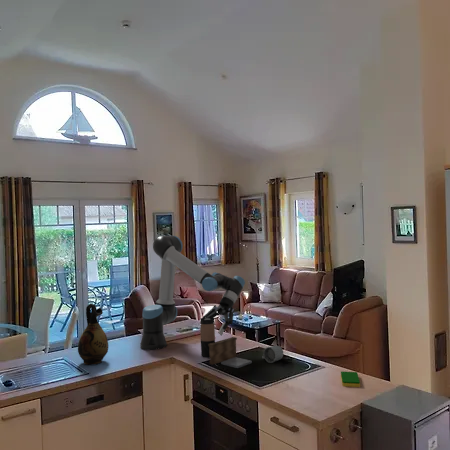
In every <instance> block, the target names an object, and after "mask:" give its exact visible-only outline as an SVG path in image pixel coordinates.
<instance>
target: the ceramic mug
mask: <svg viewBox="0 0 450 450" xmlns="http://www.w3.org/2000/svg"><path fill="white" fill-rule="evenodd" d="M262 354H263V355H262V356H261V357H262V360H265V361H266V362H267V363H271V364H272V363H275V362H277V361H280V360H281V359H282V358H283V357H284V349H283V348H282V347H281V346H280V345H271V346H268V347H265V349H264V350H263V353H262Z"/></svg>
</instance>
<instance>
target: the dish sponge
mask: <svg viewBox="0 0 450 450" xmlns="http://www.w3.org/2000/svg"><path fill="white" fill-rule="evenodd" d="M340 379H341V384H342V387H349V388H350V387H352V388H360V387H361V382H360V377H359V374H358V372H357V371H340Z"/></svg>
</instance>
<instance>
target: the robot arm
mask: <svg viewBox="0 0 450 450" xmlns="http://www.w3.org/2000/svg"><path fill="white" fill-rule="evenodd" d="M183 248H184V247H183V242H182V240H181V239H180V238H179V236H176V235H172V234H171V235H170V234H169V235H160V236H158V237H156V238H155V239H154V241H153V243H152V249H153V252H154V253H155V254H156V255H157V256H158V257H159V259H160V260H161V266H160V267H161V269H160V280H159V291H158V292H159V293H158V299H157V300H156V301H155V304H151V305H147V306H145V307H143V309H142V336H141V340H140V345H139V346H140V347H139V348H140V349H141V350H145V351H153V350H161V349H164V348H166V347H167V345H168V344H167V340H166V336H165V333H164V326H165V325H167V324H168V325H169V324H171V323H172V322H174V321H175V319H177V316H178V307H176V302H175V300H174V291H175V276H176V267H177V268H178V269H179V270H180V271H182V272H183V273H185V274H186V275H188V277H190V278H192V279H193V280H195V281H196V282H197V283H198V284H200V285H201V286H202V289H203V290H205V291H206V292H212V291H216V290H217V289H218V290H219V289H222V290H225V292H224V294H223V295H222V297H221V299H220V301H219V305H218V306H217V305H213V307H212V308H211V309H209V310H208V312H207V313H205V314H204V316H202V318H208V317H213V318H214V319H215V317H217V316H223V317H224V322H223V323H222V325H221V326H220V328H219V330H218V333H217V334H219V336H223V334H224V332H225V331H226V330H227V328H228V326H229V325H233V323H234V322H233V320H234V313H235V309H234V308H233V307H234V305H235V303H236V301H237V299H238V298H239V296H240V294H241V292H242V290H244V287H245V286H246V285H245V284H246V280H245V279H244V278H243V277H242V276H240V275H234V276H233V277H229V276H227V275H224V274H222V273H219V272H216V271H214V272H213V273H210V272H208V271H206V270H205V269H204V268H202V267H201V266H200V265H199V264H196V263H195V262H194V261H192V260H191V259H189V258H188V257H186V256H185V255H184V254H182V253H181V252H182V251H183ZM199 330H200V331H201V329H200V328H199Z"/></svg>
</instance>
